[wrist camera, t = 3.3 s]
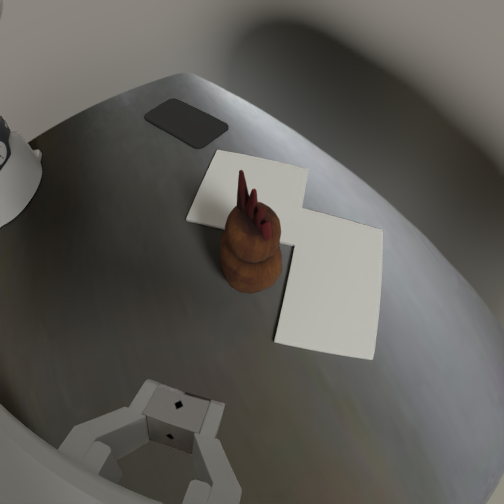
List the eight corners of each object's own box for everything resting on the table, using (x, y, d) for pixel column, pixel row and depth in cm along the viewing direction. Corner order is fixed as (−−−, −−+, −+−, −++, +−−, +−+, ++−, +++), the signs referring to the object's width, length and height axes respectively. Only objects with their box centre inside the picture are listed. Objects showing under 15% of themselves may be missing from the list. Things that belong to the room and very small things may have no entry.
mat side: (186, 220, 34) (186, 219, 33) (217, 151, 39) (217, 149, 39) (294, 246, 33) (294, 245, 32) (307, 171, 38) (308, 169, 38)
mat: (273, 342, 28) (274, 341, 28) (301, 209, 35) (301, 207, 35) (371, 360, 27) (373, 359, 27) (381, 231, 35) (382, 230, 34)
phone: (198, 149, 39) (141, 116, 42) (198, 153, 39) (142, 119, 43) (231, 125, 41) (172, 96, 44) (231, 129, 42) (173, 100, 45)
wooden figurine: (217, 250, 32) (205, 159, 19) (265, 240, 33) (283, 148, 19) (229, 306, 29) (223, 243, 16) (281, 294, 30) (316, 225, 17)
